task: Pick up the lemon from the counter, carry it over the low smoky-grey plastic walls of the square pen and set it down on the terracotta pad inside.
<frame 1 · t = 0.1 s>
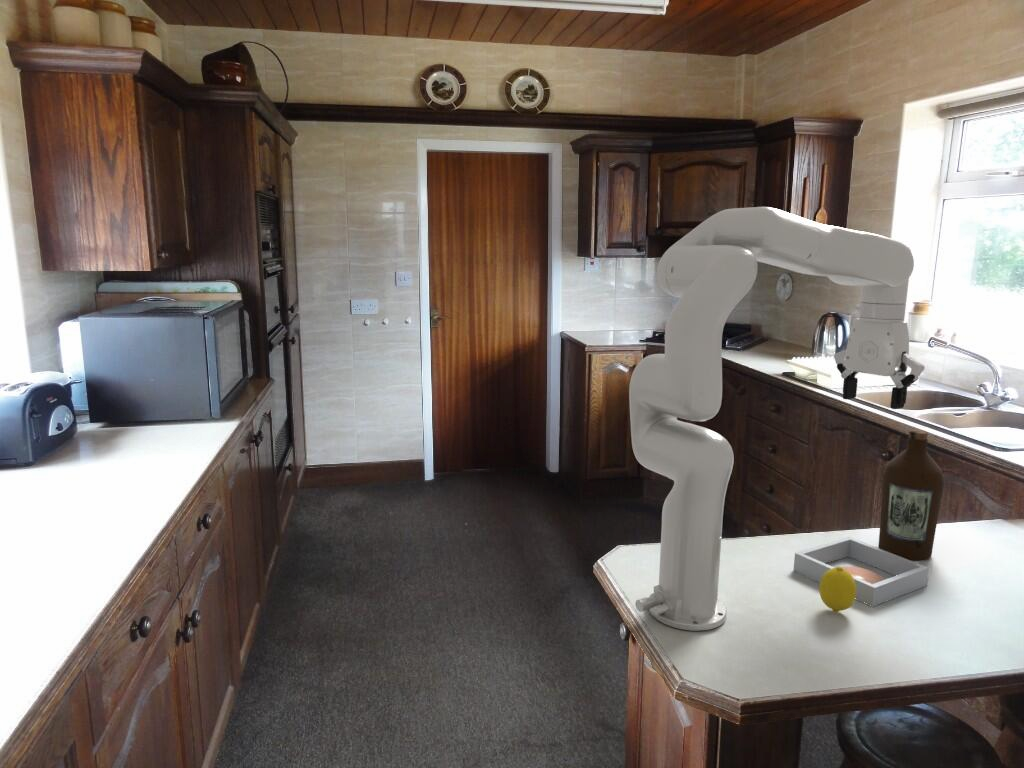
hand: (872, 403, 133), 31 cm above the counter, tool pointing down, fingers open, 9 cm apart
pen: (858, 577, 130), on the counter
lemon: (835, 613, 118), on the counter
brown glass bottle: (903, 552, 142), on the counter
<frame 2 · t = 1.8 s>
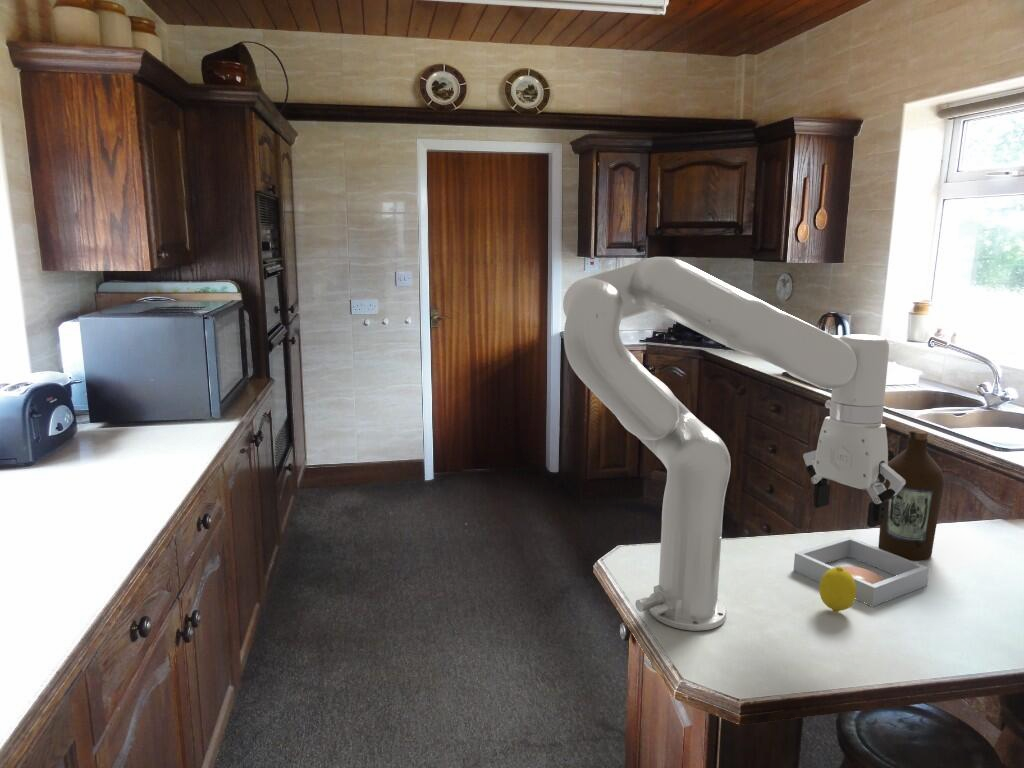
hand: (847, 515, 115), 17 cm above the counter, tool pointing down, fingers open, 9 cm apart
nothing on the counter moved.
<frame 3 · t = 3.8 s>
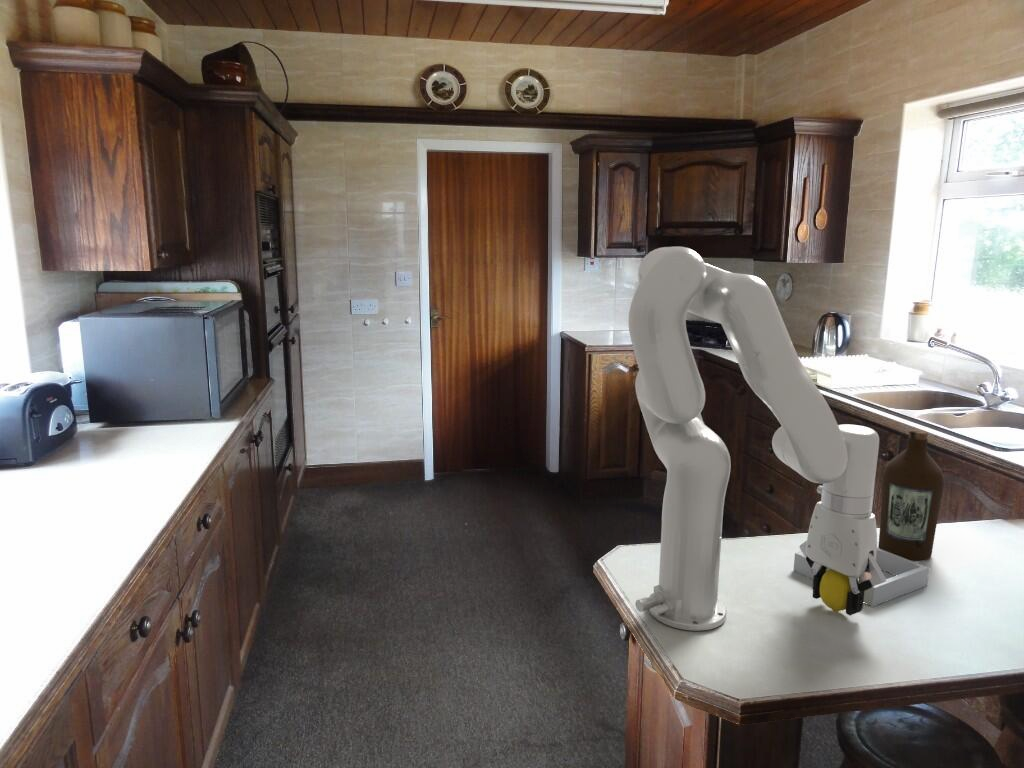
hand: (836, 603, 117), 2 cm above the counter, tool pointing down, fingers closed on lemon, 5 cm apart
lemon: (835, 612, 118), on the counter, touching gripper
everything else where it was.
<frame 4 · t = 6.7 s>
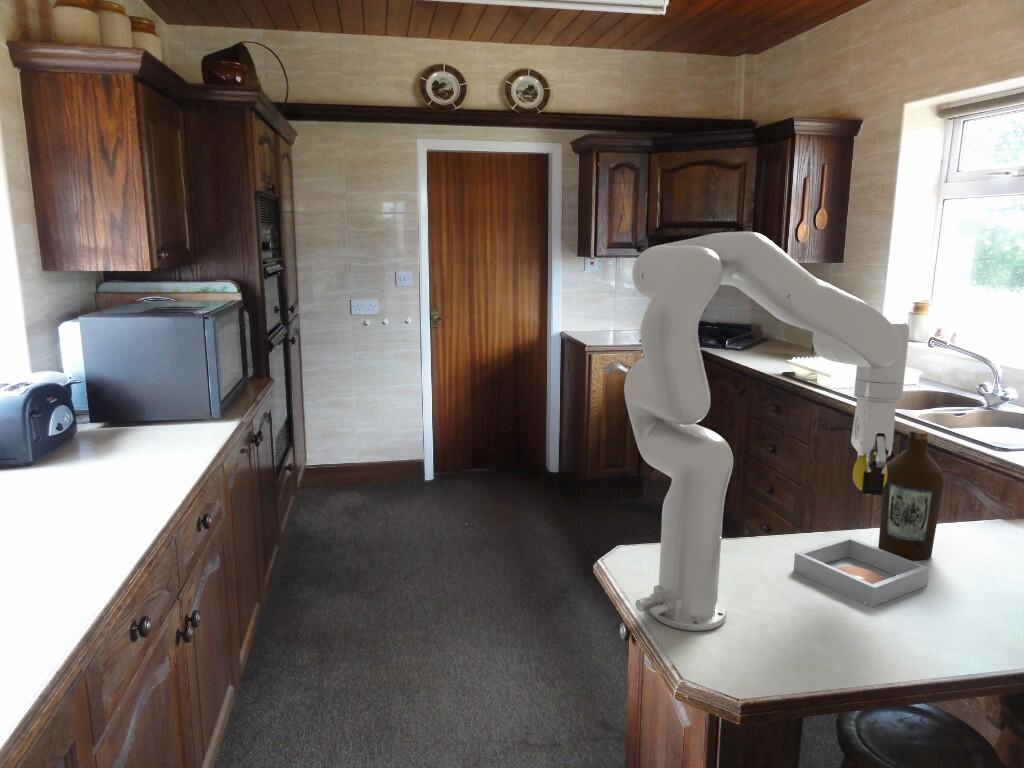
hand: (868, 487, 127), 18 cm above the counter, tool pointing down, fingers closed on lemon, 5 cm apart
lemon: (867, 496, 127), point 16 cm above the counter, touching gripper
everything else where it was.
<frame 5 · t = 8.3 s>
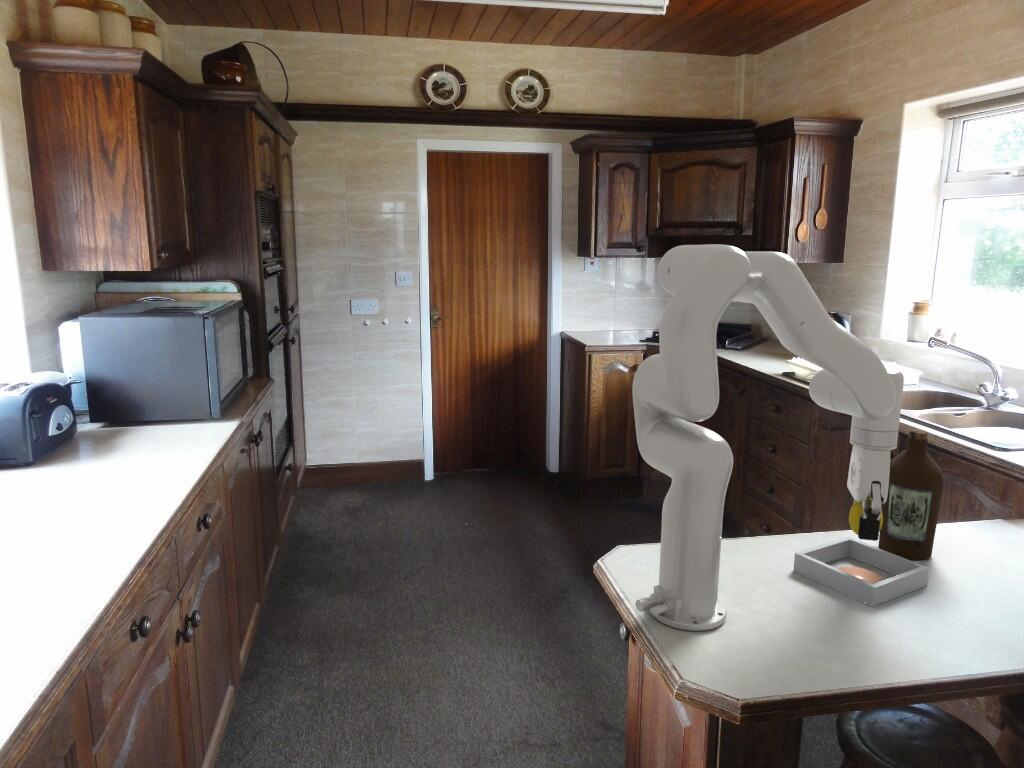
hand: (864, 531, 129), 9 cm above the counter, tool pointing down, fingers closed on lemon, 5 cm apart
lemon: (863, 540, 129), point 7 cm above the counter, touching gripper
everything else where it was.
when the fingers open (4 cm above the counter, at t = 9.7 s): lemon drops 2 cm, resting on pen.
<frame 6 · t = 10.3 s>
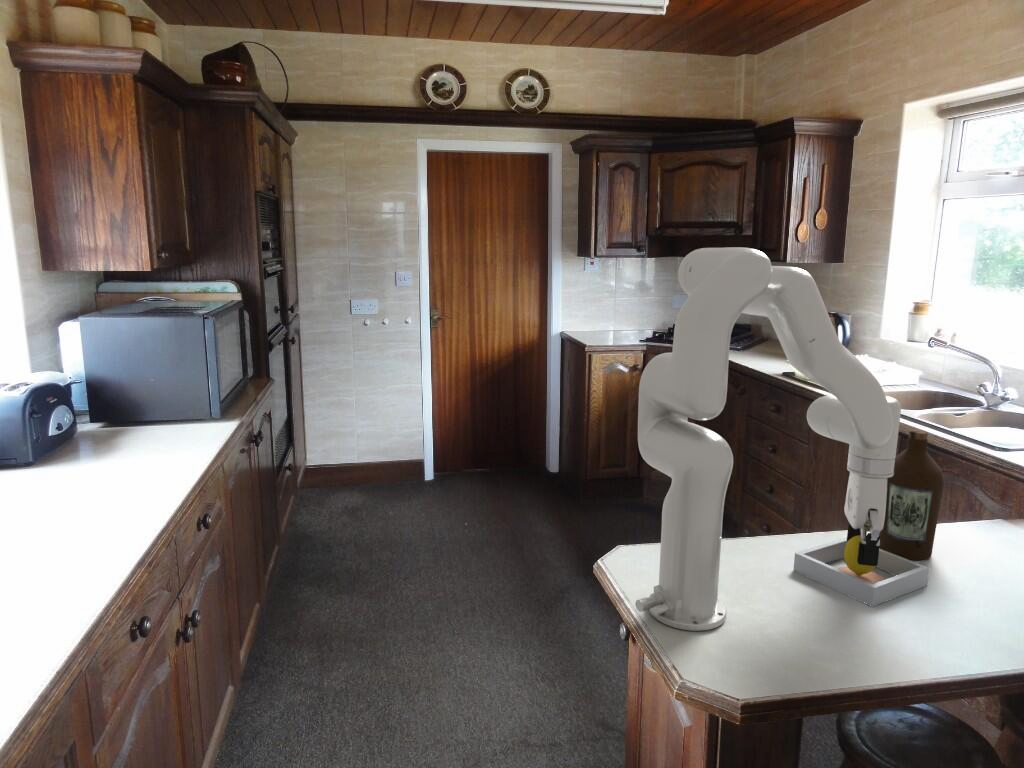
hand: (861, 553, 129), 5 cm above the counter, tool pointing down, fingers open, 9 cm apart
lemon: (858, 576, 130), resting on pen
everything else where it was.
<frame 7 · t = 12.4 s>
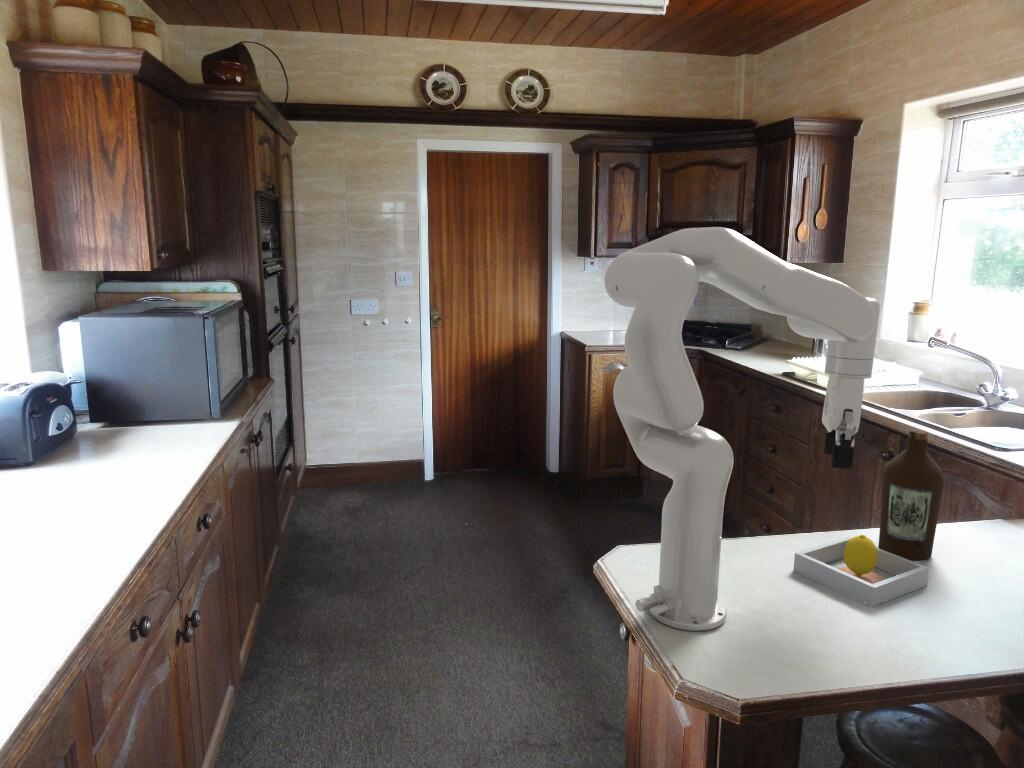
hand: (836, 460, 127), 22 cm above the counter, tool pointing down, fingers open, 9 cm apart
nothing on the counter moved.
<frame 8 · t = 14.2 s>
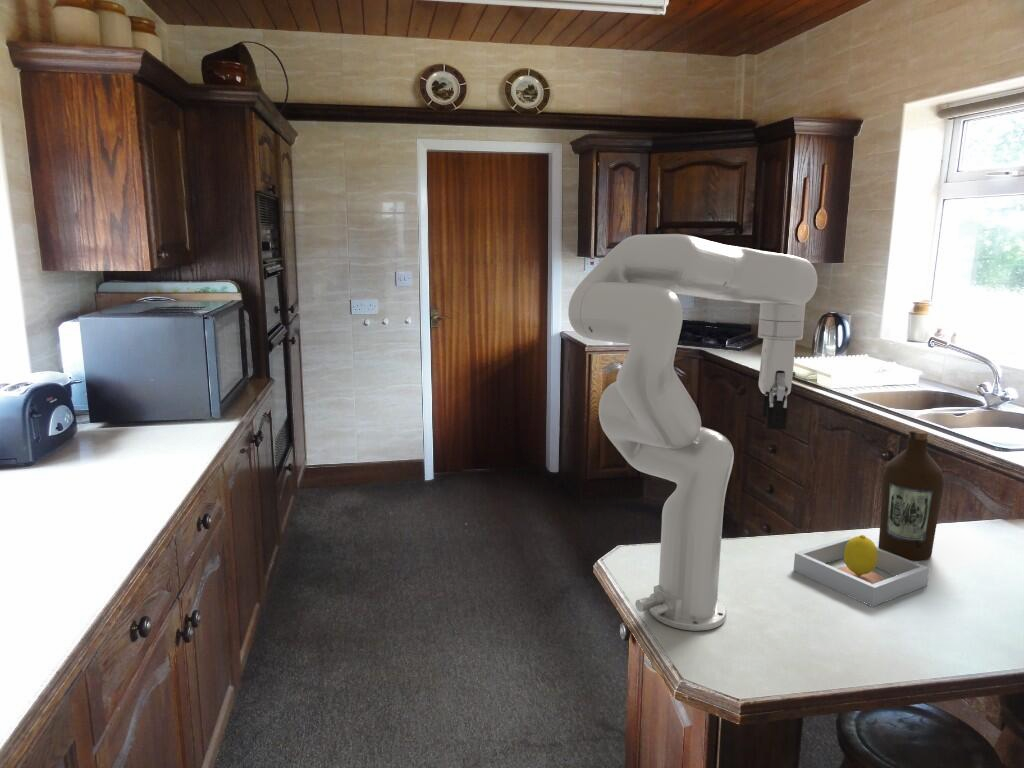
hand: (773, 422, 129), 28 cm above the counter, tool pointing down, fingers open, 9 cm apart
nothing on the counter moved.
at the end: lemon inside the target area on the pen (0.1 cm from its centre), point 0.2 cm above the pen's base; the gripper is holding nothing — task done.
